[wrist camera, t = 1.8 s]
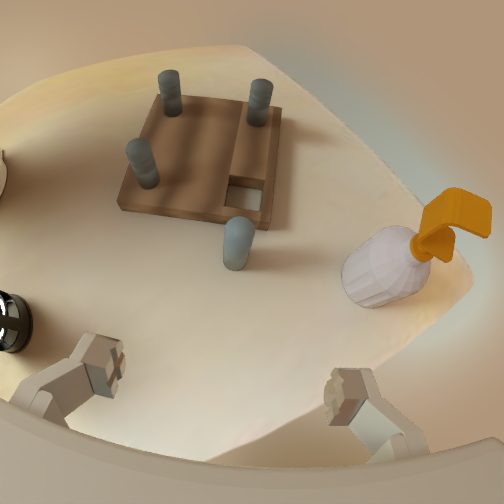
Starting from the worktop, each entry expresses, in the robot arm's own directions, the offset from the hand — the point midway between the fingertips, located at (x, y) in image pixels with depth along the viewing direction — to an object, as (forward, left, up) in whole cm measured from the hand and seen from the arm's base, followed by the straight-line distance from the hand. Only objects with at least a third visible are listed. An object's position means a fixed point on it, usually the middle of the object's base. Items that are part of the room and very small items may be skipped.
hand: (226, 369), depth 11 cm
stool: (-7, +29, -30) cm, 42 cm away
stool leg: (0, +13, -30) cm, 33 cm away
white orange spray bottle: (+20, +13, -30) cm, 38 cm away
